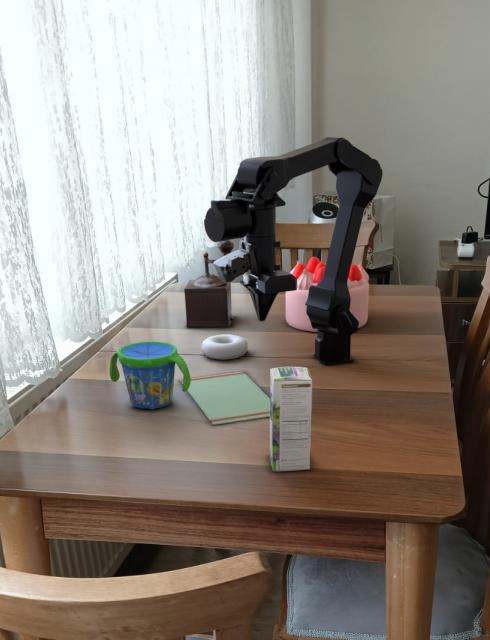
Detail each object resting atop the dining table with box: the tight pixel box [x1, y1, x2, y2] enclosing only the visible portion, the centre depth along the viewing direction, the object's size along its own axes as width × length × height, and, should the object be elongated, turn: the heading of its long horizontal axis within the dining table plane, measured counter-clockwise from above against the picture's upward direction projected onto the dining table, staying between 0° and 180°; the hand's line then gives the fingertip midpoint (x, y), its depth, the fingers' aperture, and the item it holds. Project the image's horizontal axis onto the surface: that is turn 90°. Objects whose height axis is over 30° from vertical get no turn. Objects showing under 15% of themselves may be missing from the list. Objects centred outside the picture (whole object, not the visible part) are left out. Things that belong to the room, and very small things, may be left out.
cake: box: [285, 256, 370, 333], centre depth 184 cm, size 20×20×14 cm
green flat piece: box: [179, 370, 270, 426], centre depth 144 cm, size 13×24×1 cm, turn 18°
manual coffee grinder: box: [183, 240, 235, 329], centre depth 188 cm, size 16×11×18 cm
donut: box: [201, 333, 249, 361], centre depth 166 cm, size 10×3×10 cm
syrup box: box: [269, 366, 313, 473], centre depth 115 cm, size 6×6×14 cm
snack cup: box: [109, 340, 192, 410], centre depth 140 cm, size 16×10×10 cm
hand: (261, 320), depth 146 cm, fingers closed
